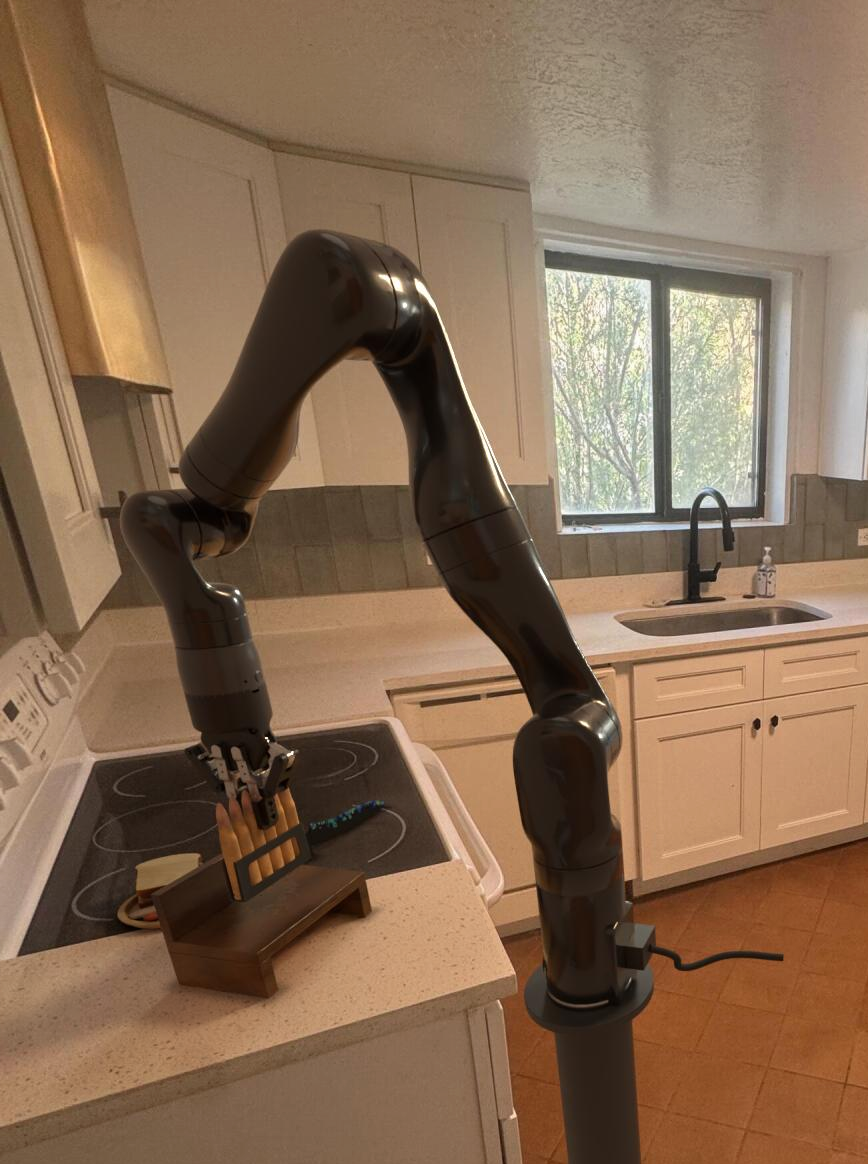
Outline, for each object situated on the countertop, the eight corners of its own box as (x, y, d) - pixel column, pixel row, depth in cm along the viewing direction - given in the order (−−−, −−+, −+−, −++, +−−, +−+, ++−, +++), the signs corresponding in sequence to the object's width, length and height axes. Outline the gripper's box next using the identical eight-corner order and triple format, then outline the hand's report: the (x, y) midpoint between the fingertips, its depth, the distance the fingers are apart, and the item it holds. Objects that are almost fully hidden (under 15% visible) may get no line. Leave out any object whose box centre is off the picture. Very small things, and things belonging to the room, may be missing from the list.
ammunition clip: (244, 903, 88) (218, 807, 84) (230, 901, 88) (204, 805, 84) (311, 857, 98) (291, 769, 94) (299, 856, 98) (278, 768, 94)
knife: (236, 893, 106) (232, 862, 104) (219, 889, 106) (215, 858, 105) (399, 819, 134) (398, 795, 132) (385, 817, 135) (383, 792, 133)
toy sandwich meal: (108, 942, 97) (96, 909, 95) (134, 890, 109) (124, 860, 107) (226, 918, 102) (217, 887, 100) (239, 871, 114) (231, 842, 112)
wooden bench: (372, 911, 104) (356, 830, 100) (268, 998, 87) (244, 906, 83) (293, 901, 106) (274, 822, 102) (178, 984, 90) (150, 894, 85)
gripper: (139, 688, 82) (182, 835, 88) (251, 696, 80) (287, 847, 86) (200, 670, 89) (235, 807, 95) (304, 676, 87) (334, 817, 93)
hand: (260, 825), depth 91 cm, fingers closed on ammunition clip, 1 cm apart
